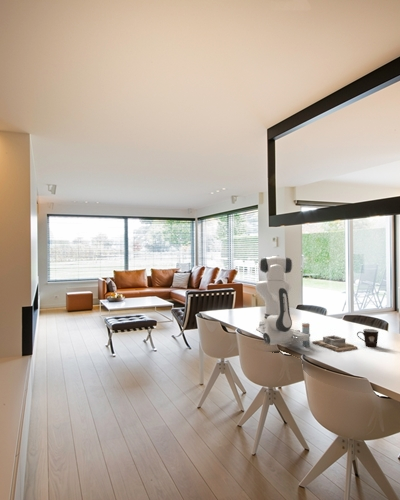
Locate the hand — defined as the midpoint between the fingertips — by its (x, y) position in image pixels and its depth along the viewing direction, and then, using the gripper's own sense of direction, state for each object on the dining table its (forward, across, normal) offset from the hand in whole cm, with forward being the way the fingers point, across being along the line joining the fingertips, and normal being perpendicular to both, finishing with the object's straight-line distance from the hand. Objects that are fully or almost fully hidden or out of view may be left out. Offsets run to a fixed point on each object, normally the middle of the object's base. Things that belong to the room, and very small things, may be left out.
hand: (304, 333), depth 218 cm
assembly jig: (+16, -9, +8) cm, 20 cm away
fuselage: (+1, 0, +8) cm, 8 cm away
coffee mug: (+36, -18, +8) cm, 41 cm away
